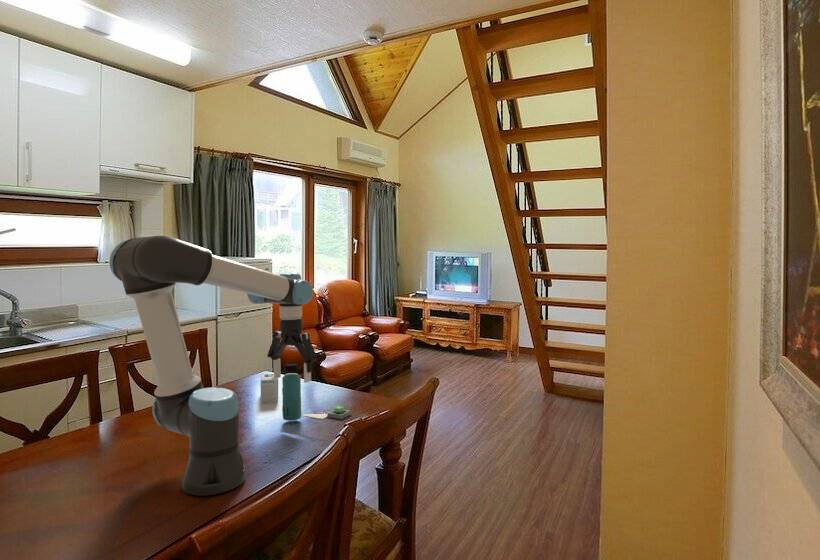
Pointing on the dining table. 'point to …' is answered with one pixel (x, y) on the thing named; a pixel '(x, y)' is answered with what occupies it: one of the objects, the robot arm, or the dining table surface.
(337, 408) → the button
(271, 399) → the light bulb box
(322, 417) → the cream rectangular board
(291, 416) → the beverage bottle
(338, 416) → the button box
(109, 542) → the dining table surface
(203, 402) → the robot arm
